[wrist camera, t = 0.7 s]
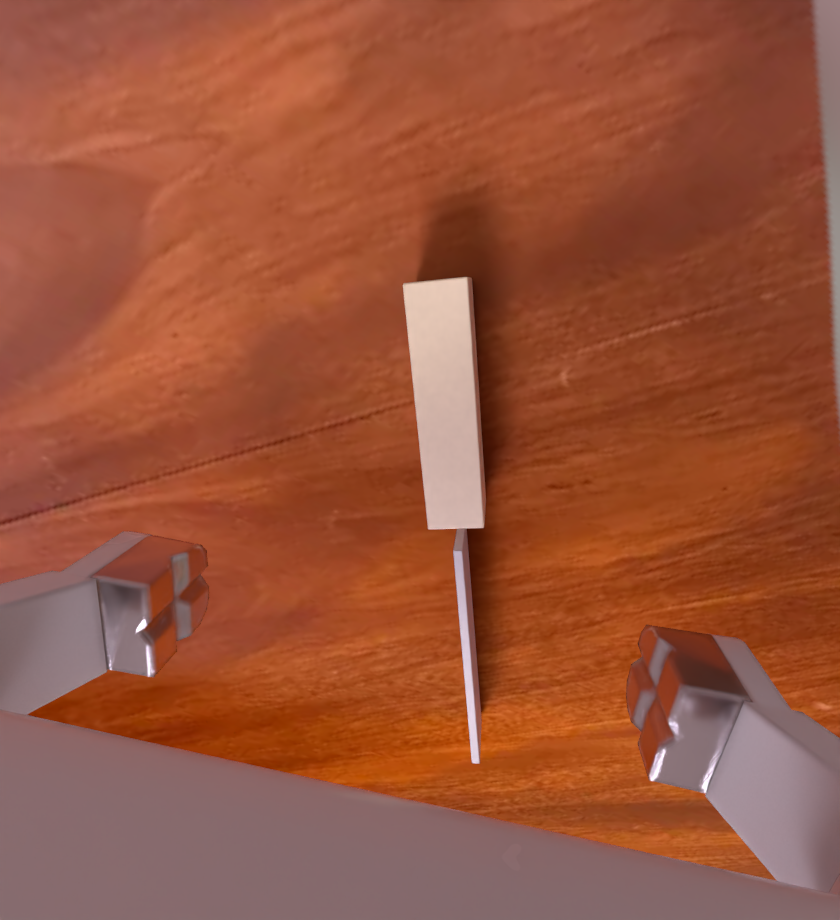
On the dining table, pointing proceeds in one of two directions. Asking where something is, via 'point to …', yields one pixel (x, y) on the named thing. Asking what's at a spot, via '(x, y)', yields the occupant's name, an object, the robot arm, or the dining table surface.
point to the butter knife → (450, 440)
